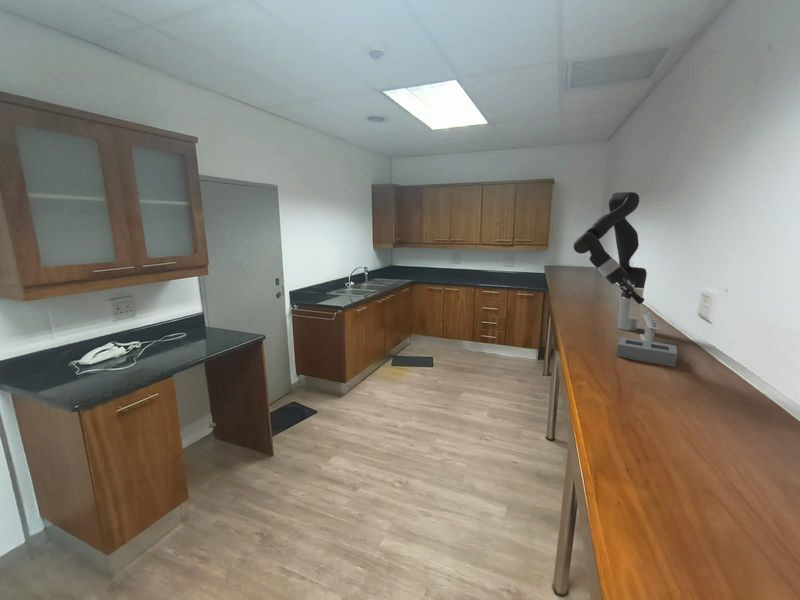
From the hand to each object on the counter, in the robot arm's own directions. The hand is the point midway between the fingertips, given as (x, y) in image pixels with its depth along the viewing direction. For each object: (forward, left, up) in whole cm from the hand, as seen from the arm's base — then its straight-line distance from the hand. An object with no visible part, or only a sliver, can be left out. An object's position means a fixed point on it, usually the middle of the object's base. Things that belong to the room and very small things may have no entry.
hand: (641, 301), depth 145 cm
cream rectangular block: (0, -2, -7) cm, 8 cm away
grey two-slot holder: (0, +4, -24) cm, 24 cm away
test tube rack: (-21, +4, -24) cm, 32 cm away
